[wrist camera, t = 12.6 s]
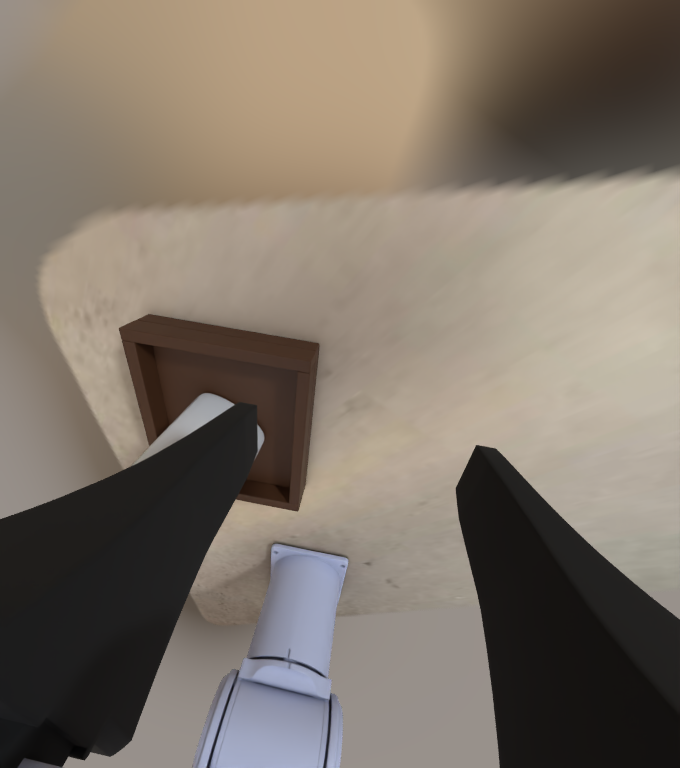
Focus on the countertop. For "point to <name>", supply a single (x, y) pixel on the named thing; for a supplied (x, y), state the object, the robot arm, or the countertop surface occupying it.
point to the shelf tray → (230, 391)
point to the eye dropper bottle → (193, 423)
